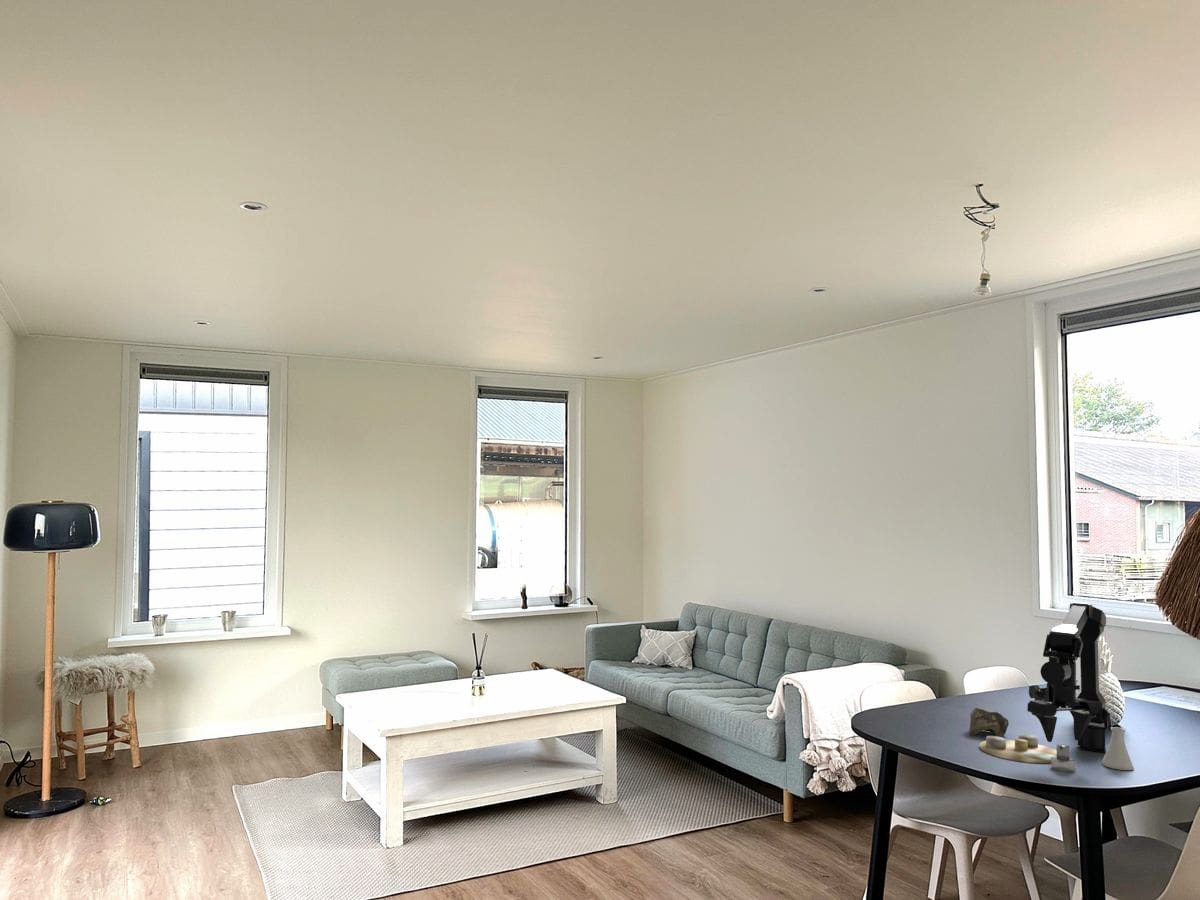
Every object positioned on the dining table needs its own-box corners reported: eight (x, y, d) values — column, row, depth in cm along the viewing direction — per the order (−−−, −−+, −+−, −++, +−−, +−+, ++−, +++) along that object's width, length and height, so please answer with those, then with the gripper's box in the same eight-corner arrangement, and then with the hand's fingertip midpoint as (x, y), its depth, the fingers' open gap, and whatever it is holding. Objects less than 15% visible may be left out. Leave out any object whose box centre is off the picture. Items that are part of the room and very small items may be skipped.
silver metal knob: (1074, 768, 234) (1074, 745, 234) (1075, 773, 228) (1075, 749, 229) (1050, 765, 236) (1050, 741, 236) (1051, 770, 231) (1051, 746, 231)
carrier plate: (1063, 749, 252) (1063, 737, 252) (1065, 767, 233) (1065, 755, 234) (981, 738, 261) (981, 727, 262) (977, 755, 243) (977, 742, 243)
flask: (1122, 763, 240) (1122, 725, 241) (1139, 771, 233) (1139, 732, 234) (1096, 762, 240) (1096, 724, 241) (1112, 770, 233) (1112, 731, 233)
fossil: (1005, 730, 271) (1009, 704, 267) (1009, 751, 263) (1013, 724, 259) (966, 725, 274) (969, 699, 270) (969, 746, 266) (972, 719, 262)
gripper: (1066, 673, 244) (1065, 731, 243) (1011, 674, 238) (1010, 734, 237) (1101, 681, 234) (1100, 742, 233) (1044, 683, 228) (1044, 745, 227)
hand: (1063, 740), depth 233 cm, fingers open, 9 cm apart
